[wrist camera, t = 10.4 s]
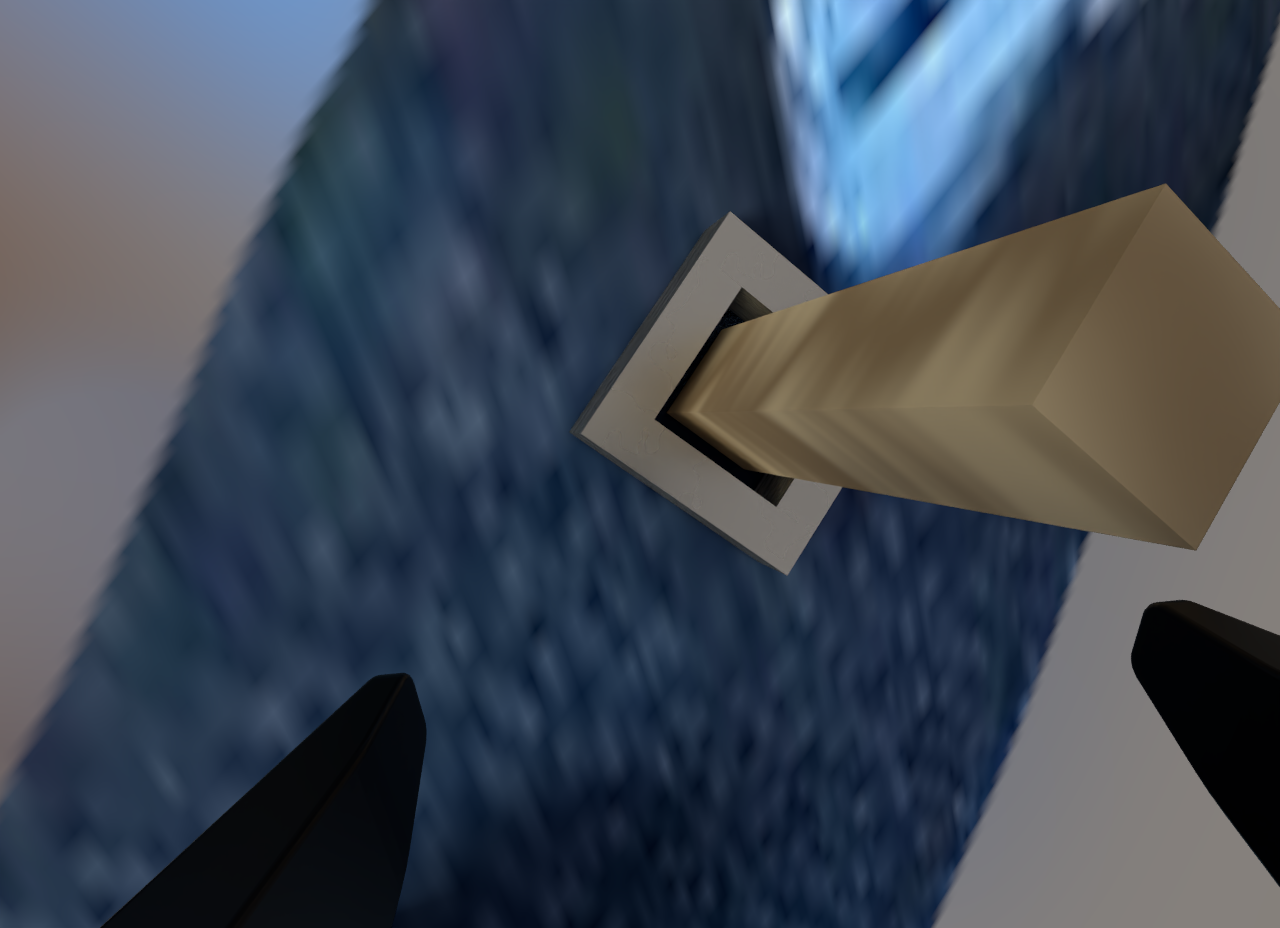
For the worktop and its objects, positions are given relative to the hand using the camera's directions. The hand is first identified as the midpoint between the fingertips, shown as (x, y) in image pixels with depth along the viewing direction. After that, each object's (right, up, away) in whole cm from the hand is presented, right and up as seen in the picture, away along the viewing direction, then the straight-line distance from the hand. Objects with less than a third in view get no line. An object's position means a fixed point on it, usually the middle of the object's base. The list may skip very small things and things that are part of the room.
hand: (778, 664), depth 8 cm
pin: (+1, +5, +13) cm, 14 cm away
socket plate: (+1, +4, +13) cm, 14 cm away
